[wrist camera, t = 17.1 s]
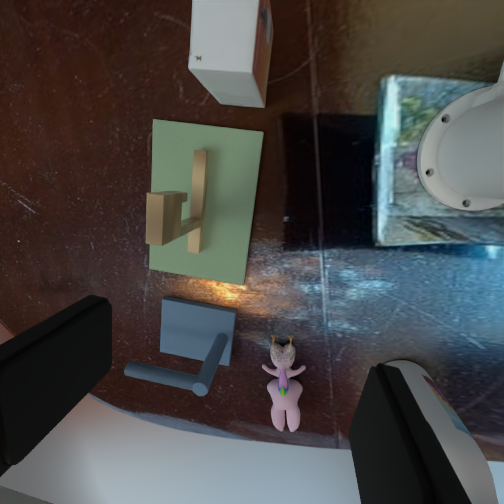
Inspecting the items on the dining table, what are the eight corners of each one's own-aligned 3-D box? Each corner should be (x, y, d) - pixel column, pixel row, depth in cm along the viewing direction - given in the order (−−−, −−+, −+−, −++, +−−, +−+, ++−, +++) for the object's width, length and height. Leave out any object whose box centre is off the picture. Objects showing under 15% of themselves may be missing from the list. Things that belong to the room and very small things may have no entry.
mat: (154, 119, 34) (152, 118, 33) (263, 132, 32) (263, 131, 32) (150, 268, 39) (149, 268, 39) (243, 284, 38) (243, 285, 37)
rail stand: (165, 295, 40) (119, 337, 29) (237, 309, 39) (216, 358, 28) (163, 347, 43) (120, 403, 32) (230, 361, 41) (209, 424, 31)
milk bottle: (368, 400, 40) (439, 604, 21) (373, 355, 38) (457, 535, 19) (424, 406, 39) (554, 627, 20) (433, 360, 37) (586, 556, 18)
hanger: (197, 150, 34) (147, 134, 22) (209, 152, 33) (166, 136, 22) (190, 249, 37) (144, 280, 25) (202, 251, 37) (160, 283, 25)
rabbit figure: (261, 329, 41) (266, 421, 42) (256, 346, 35) (262, 453, 36) (303, 329, 40) (307, 424, 41) (305, 347, 34) (309, 457, 35)
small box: (265, 109, 32) (252, 76, 22) (219, 104, 32) (186, 70, 22) (275, 29, 29) (266, -49, 19) (225, 26, 30) (192, -52, 20)
